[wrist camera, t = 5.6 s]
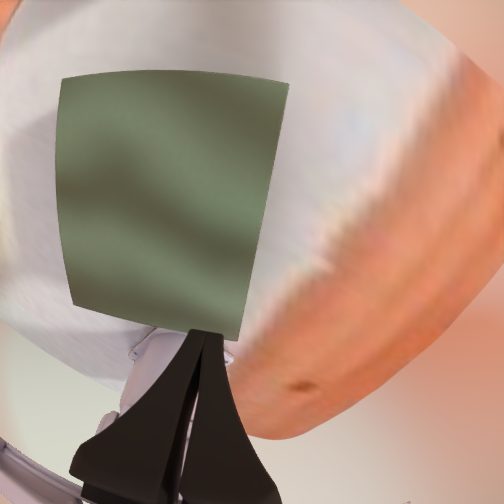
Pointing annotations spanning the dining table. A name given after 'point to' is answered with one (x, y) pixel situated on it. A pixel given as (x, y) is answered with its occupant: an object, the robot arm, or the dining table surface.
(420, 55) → the dining table surface
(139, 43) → the dining table surface
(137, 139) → the sage green tile
